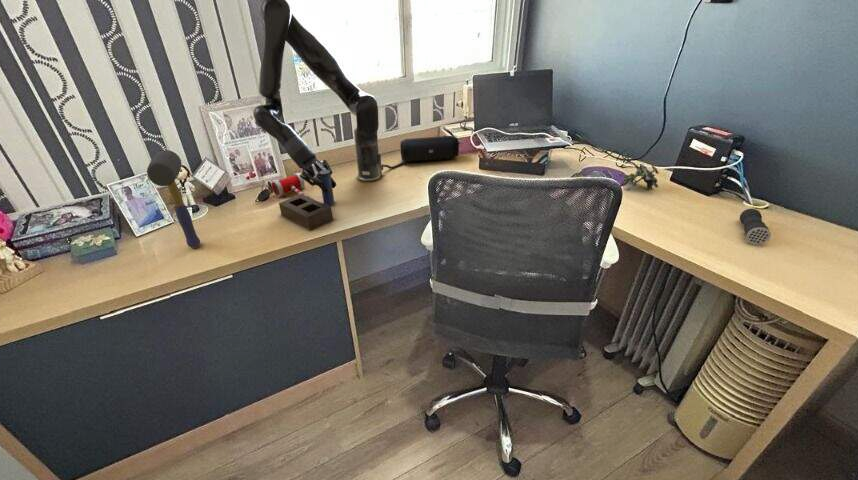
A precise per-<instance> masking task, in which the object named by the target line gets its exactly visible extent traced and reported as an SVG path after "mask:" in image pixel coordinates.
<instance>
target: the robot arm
mask: <svg viewBox="0 0 858 480" xmlns="http://www.w3.org/2000/svg"><path fill="white" fill-rule="evenodd" d="M257 12H258V16H259V18H260V20H261V21H262V22H263V26H264V46H263V53H262V57H261V62H260V68H259V82H258V84H259V86H258V91H259V94H260V95H261V96H262V98H263V97H264V98H265V104H259V105H257V106H255V108H254V109H253V118H254V120H255V122H256V123H257V125H258V126H259V128H261V129H262V130H263V131H264V132H266V133H267V134H268V135H269V136H271V137H273V138H274V139H275V141H277V142H278V144H279V145H280V146H281V147H282V148H283V150H284V151H285V152H286V154H287V155H288V157H290V158H291V160H292V161H293V163H294V164H296V166H297V167H298V168H299V169H301V170H302V171H301V173H299V174H300V177H301V178H302V179H304V182H306V183H308V184H309V185H310V186H311V187H314V186H318V188H319V189H320V190H321V192H322V191H323V192H325V193H326V192H328V190H329V188H328V187H327V186H326V185H325V184H324V183H323V181H322V182H321V179H320V177H319V171H321V170H329V171H330V175H331V182H332V189H334V188H336V186H337V182H336V181H335V179H333V177H332V175H333V170H332V169H331V167H330V164H329V162H328V161H327V159H323V160H319V159H318V158H317V156H316V153H315V152H314V151H313V150H312V149H311V148H310V146H309V145H308V144H307V142H305V140H304V139H303V138H301V137H300V136H299V134H298V133H297V132H296V130H294V128H293V127H292V126H291V125H289V123H284V122H281V121H282V120H283V114H284V111H283V109H284V108H283V101H282V96H281V89H282V76H283V75H282V74H283V63H284V62H283V61H284V53H285V46H286V43H287V44H288V45H289V46H290V47H291V48H292V50H293V51H294V52H295V54H296V55H297V57H299V59H300V60H301V61H302V62H303V63H304V64H305V66H306V67H307V68H308V69H309V70H310V71H311V72H312V73H313V74H314V75H315V76H316V78H318V79H319V80H320V81H321V82H322V83H323V84H324V85H325V86H326V87H328V88H329V89H330V90H331V91H332V92H333V93H335V94H336V95H337V96H338V98H339V99H340V100H341V102H342V103H343V104H344V105H345V106H346V108H347V109H348V110H349V111H350V113H351V114H352V115H353V116H354V117H356V127H355V128H354V130H353V134H354V135H353V137H354V144H355V155H356V166H357V177H358V180H360V181H363V182H374V181H377V180H379V179H380V178H381V177H382V176H383V172H382V171H384V168H388V169H392V170H393V169H397V168H398V167H400V166H402V165H404V164H407V163H409V162H407V161H402V162H401V161H400V163H398V164H396V165H393V166H391V165H389V164H383V163H382V157H381V155H382V154H381V152H379V139H378V130H379V127H380V126H379V125H380V124H379V105H378V101H377V99H376V98H375V96H373V95H371V94H369V93H366V92H364V91H363V90H361V89H360V88H359V87H358V86H357V85H356V84H355V83H354V82H353V81H352V80H351V79H350V78H349V77H348V75H347V73H346V72H345V70H344V68H343V66H342V64H341V63H340V61H339V60H338V58H337V57H336V56H335V55H334V54H333V53H332V52H331V51H330V49H329V48H328V47H327V46H326V45H325V44H323V43H322V42H321V40H319V39H318V38H317V37H316V36H315V35H314V34H312V33H311V32H310V31H308V30H307V29H306V28H305V27H304V26H303V25H302V24H301V23H300V22H299V20H298V19H297V18H296V17H295V16H294V14H293V13H292V9H291V7H290V5H289V3H288V1H287V0H258V3H257Z"/></svg>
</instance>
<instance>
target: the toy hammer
mask: <svg viewBox="0 0 858 480" xmlns="http://www.w3.org/2000/svg"><path fill="white" fill-rule="evenodd" d="M300 174H301V173H299V172H296V173H293V174H292V175H291V176H287V177H285V178H282V179H274V180H272V181H271V184H270V185H271V190H272V192H273V194H274V195H275V196H276V197H278V198H280V197H282V196H284V194H286V193H290V192H295V193H296V194H298V195H301V194H303V195H305V196H308V197H310V196H309V195H307V194H306V193H304V192H303V191H301V190H302V189H304V188H305V185H306V184H305V180H304V179H302V178H301V177H300Z"/></svg>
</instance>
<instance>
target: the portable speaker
mask: <svg viewBox="0 0 858 480" xmlns="http://www.w3.org/2000/svg"><path fill="white" fill-rule="evenodd" d="M458 141H459V139H458V137H456V136H454V135H443V136H442V135H441V136H427V137H417V138H416V137H415V138H405V139H403V140H401V141H400V143H399V144H400V158H401V161H402V162H404V161H407V162H408V163H419V162H430V161H444V160H452V159H454V158H457V157H458V156H459V153H460V143H459V142H460V141H459V142H458Z"/></svg>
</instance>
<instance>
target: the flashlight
mask: <svg viewBox="0 0 858 480" xmlns="http://www.w3.org/2000/svg"><path fill="white" fill-rule="evenodd" d="M762 217H763V215H762V213H761V211H760V210H758V209H757V208H746V209H744V210H743V211H742V212H741V213H740V214H739V221H740V223H741V225H743V227H744V229H743V231H744V236H745V239H746V241H747V243H749V244H750V245H753V246H760V245H763V244H766V243H767V242H768V241H769V240H770V239H771V237H772V236H771V235H772V234H771V232H770V229H769V227H768V226H767V225H766V223H765V222H764V221H763V219H762Z"/></svg>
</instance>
